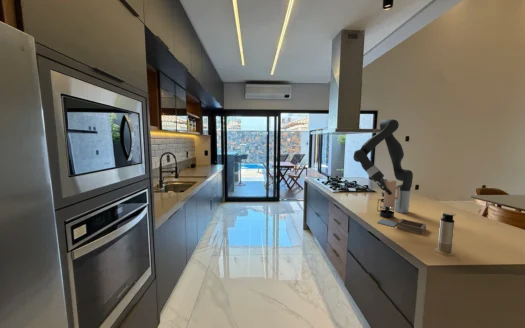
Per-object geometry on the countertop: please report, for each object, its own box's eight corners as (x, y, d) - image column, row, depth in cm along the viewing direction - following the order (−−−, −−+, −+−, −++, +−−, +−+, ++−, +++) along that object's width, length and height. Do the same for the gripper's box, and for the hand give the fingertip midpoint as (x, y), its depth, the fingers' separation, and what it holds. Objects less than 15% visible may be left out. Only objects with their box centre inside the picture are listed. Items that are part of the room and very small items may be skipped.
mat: (382, 219, 158) (382, 218, 158) (398, 223, 151) (398, 222, 151) (377, 223, 151) (377, 222, 151) (393, 227, 144) (393, 226, 144)
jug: (385, 204, 155) (387, 179, 153) (399, 206, 149) (401, 181, 147) (382, 205, 150) (383, 180, 148) (396, 208, 144) (398, 182, 142)
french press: (394, 215, 168) (396, 184, 165) (395, 219, 159) (398, 187, 157) (376, 213, 172) (378, 183, 170) (377, 216, 164) (379, 185, 161)
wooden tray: (401, 223, 150) (401, 218, 150) (425, 229, 141) (426, 224, 141) (396, 228, 143) (397, 222, 142) (422, 234, 133) (422, 228, 133)
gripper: (375, 171, 148) (394, 192, 141) (382, 169, 158) (400, 188, 151) (366, 178, 152) (384, 198, 145) (374, 175, 162) (391, 195, 155)
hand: (392, 193), depth 148 cm, fingers closed on jug, 6 cm apart
